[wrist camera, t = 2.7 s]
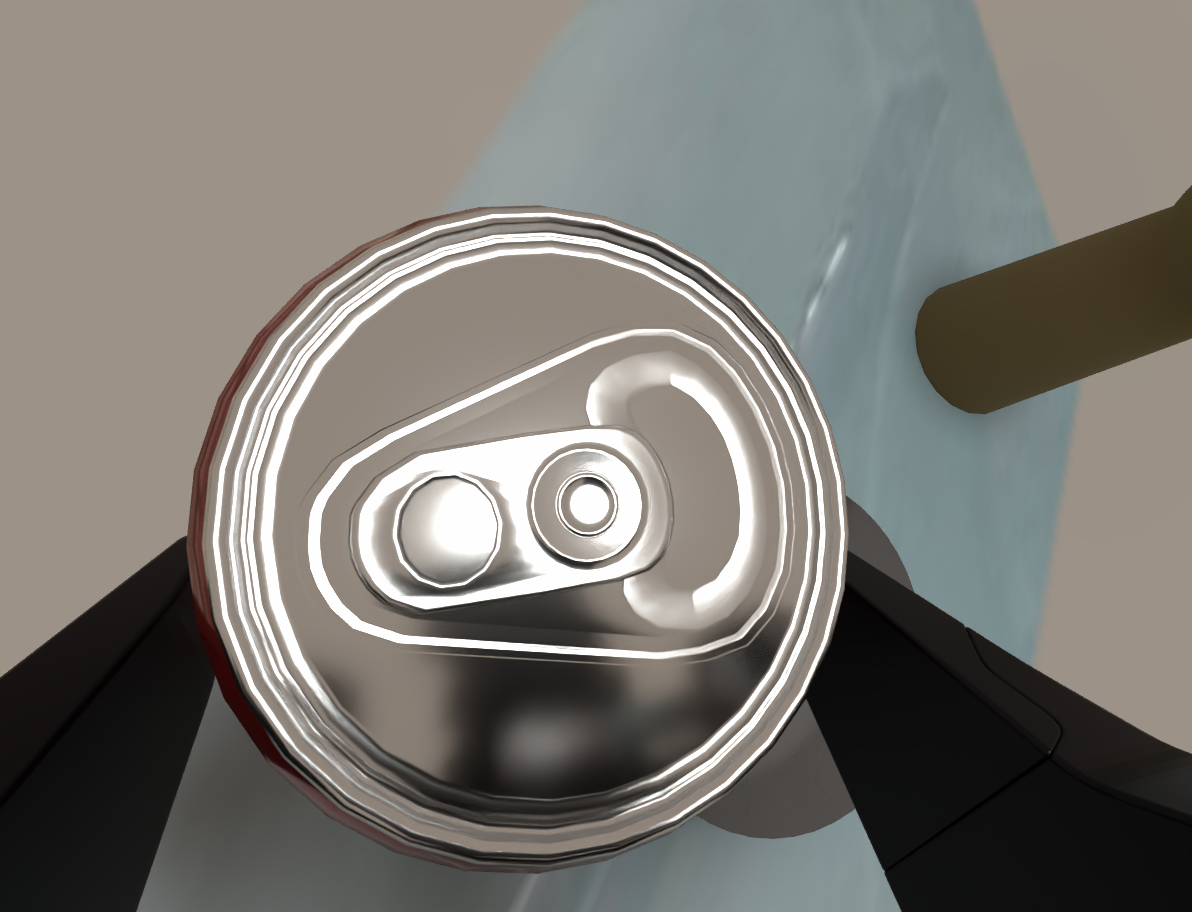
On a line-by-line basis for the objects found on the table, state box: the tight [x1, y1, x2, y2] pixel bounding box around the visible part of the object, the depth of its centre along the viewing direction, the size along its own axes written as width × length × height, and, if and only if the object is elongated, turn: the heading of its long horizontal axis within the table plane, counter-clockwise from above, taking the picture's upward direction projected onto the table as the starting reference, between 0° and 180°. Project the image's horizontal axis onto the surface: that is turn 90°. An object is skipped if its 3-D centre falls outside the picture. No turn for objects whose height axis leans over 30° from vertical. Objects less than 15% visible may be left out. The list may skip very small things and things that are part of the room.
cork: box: [916, 186, 1192, 414], centre depth 18 cm, size 6×6×11 cm
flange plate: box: [698, 496, 914, 839], centre depth 18 cm, size 12×12×1 cm
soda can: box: [186, 206, 849, 874], centre depth 11 cm, size 7×7×12 cm
